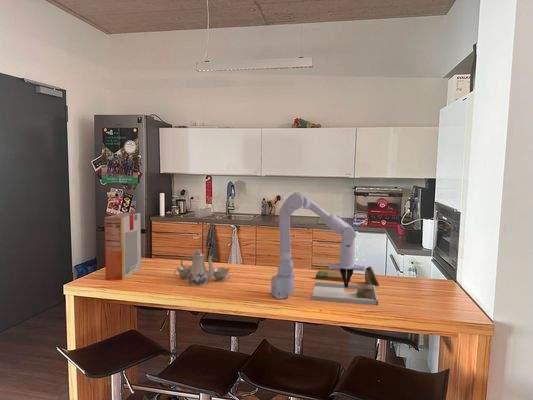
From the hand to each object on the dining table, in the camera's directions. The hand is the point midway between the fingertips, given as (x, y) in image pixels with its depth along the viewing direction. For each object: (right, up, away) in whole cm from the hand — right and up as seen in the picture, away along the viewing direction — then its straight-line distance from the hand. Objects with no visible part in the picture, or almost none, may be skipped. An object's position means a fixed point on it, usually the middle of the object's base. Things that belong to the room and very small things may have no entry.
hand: (346, 286), depth 159 cm
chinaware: (-65, -3, +22) cm, 69 cm away
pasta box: (-106, -1, +35) cm, 111 cm away
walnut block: (+7, -4, -1) cm, 8 cm away
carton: (-1, -4, +25) cm, 25 cm away
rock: (+16, -4, +18) cm, 25 cm away
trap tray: (-1, -5, 0) cm, 5 cm away
